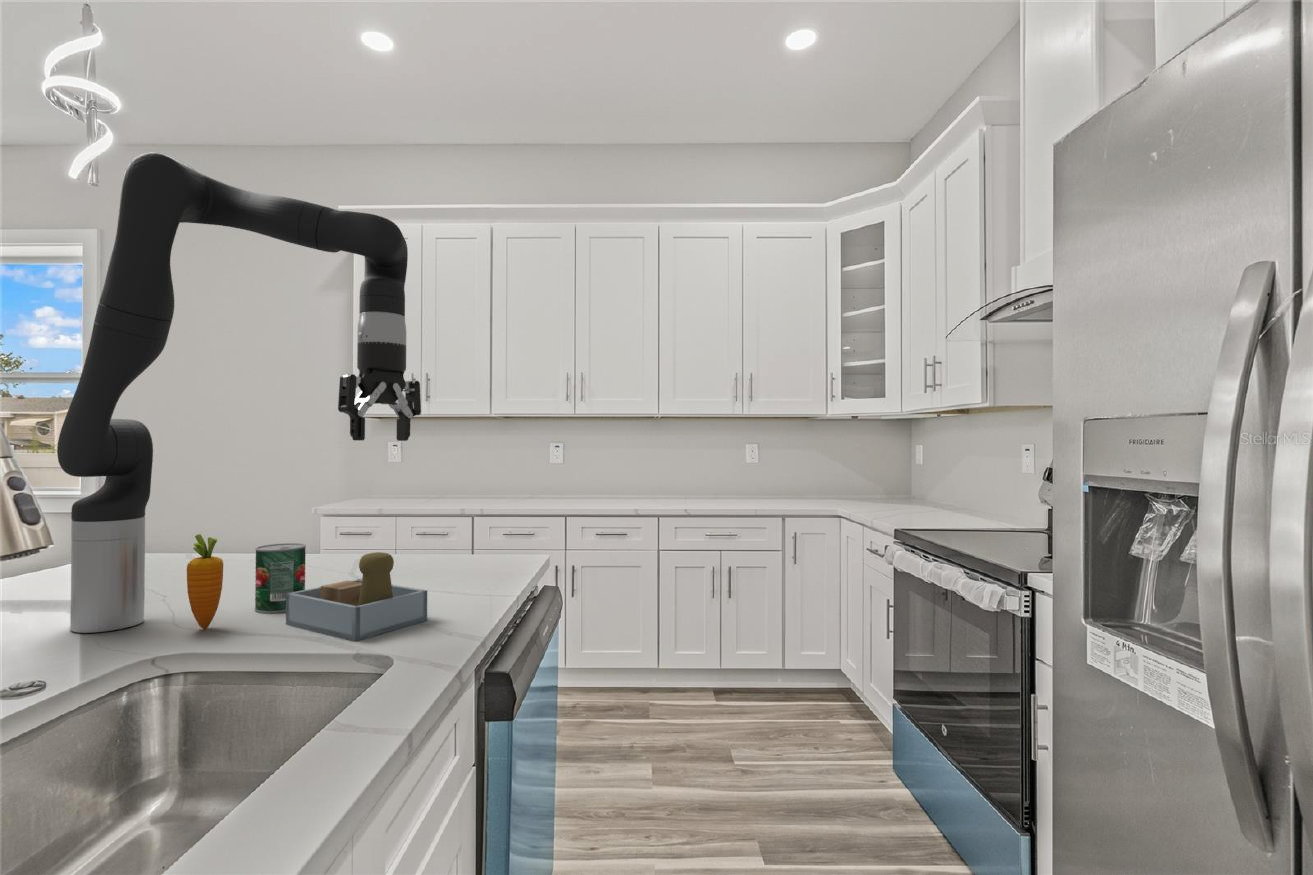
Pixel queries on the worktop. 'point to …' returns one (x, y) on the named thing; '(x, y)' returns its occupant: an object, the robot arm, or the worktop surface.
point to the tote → (356, 613)
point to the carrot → (204, 582)
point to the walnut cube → (342, 592)
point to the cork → (375, 577)
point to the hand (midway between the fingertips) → (381, 440)
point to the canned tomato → (278, 575)
